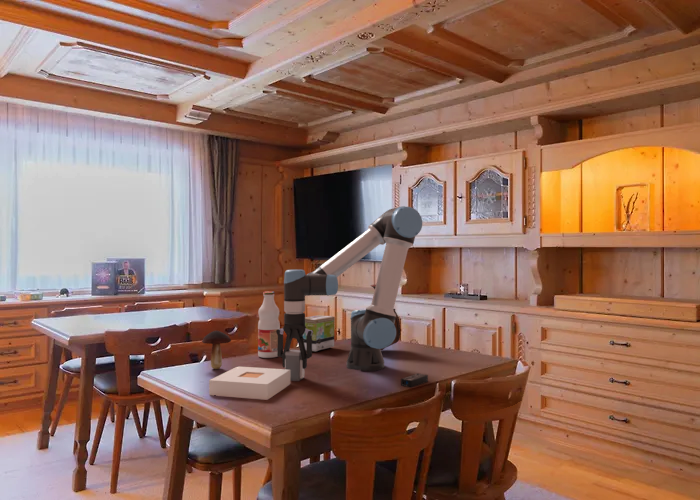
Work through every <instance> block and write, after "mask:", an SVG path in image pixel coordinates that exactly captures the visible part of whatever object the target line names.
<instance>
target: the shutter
mask: <svg viewBox="0 0 700 500" xmlns="http://www.w3.org/2000/svg"><path fill="white" fill-rule="evenodd" d="M261 375H263V374H248V373H247V374H245V375H243V376H241V377H251V378H257V377H259V376H261Z"/></svg>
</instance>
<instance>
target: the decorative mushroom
mask: <svg viewBox="0 0 700 500" xmlns="http://www.w3.org/2000/svg"><path fill="white" fill-rule="evenodd" d="M231 341H232V339H231V338H230V336H229V335H227V334H226V333H225V332H222V331H220V330H213V331H211V332H209V333H207V334H206V335H205V336H204V337H203V339H202V341H201V343H203V344H209V345H212V346H211V352H210V366H211V368H212V369H213V370H219V369H220V368H221V367H222V366H223V357H222V356H223V355H222V354H223V353H222V348H221V344H228V343H231Z"/></svg>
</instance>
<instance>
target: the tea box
mask: <svg viewBox="0 0 700 500" xmlns="http://www.w3.org/2000/svg"><path fill="white" fill-rule="evenodd" d="M335 317H336V316H332V315H322V314H321V315H320V314H318V315H312V316H305V326H306V329H309V330H313V334H312V352H318V351H322V350H326V349H330V348H334V347H335V331H336V330H335V329H336V328H335V326H336V325H335V323H336V321H335V320H336V319H335ZM306 338H307V335H306V332H304V334H303V341H304V345H305V349H306V351H307V343H306Z"/></svg>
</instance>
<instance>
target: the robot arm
mask: <svg viewBox="0 0 700 500" xmlns="http://www.w3.org/2000/svg"><path fill="white" fill-rule="evenodd" d="M422 228H423V218H422V216H421V214H420V212H419V211H418V210H417V209H415V208H414V207H412V206H405V205H403V206H399V207H396V208H394V207H393V208H390V209H387V210H386V211H384V212H383V213H382V214H381V215H380V216H378V218H376V219H375V220H374V221H373V222H371V223H370V224H369V225H368V227H367V230H365V231H364V232H363V233H361V234H360V235H359V236H357V237H356V238H355V239H353V241H351V242H350V243H348V244H347V245H346V246H345V247H343V248H342V249H341V250H340V251H338V252H337V253H335V254H334V255H333V256H332V257H330V258H328V260H326V261H325V262H324V263H322V264H321V265H320V266H319V267H317V268H316V269H315V270H314V271H312V272H311V271H310V272H309V273H307V274H306V271H305V270H304V269H286V270H285V272H284V278H283V279H284V280H283V297H284V299H283V312H285V313H283V315H284V316H283V317H284V318H283V324H284V325H283V327H282V328H280V329H278V330H276V333H277V336H278V351H277V355H278V357H277V358H279V357H280V358H281V359H282V367H283V368H284V369H286V355H285V352H287V351H289V350H291V349H290V348H291V344H292V340H293V339H295V340H296V341H297V344H298V347H299V350H300V353H301V357H302V359H301V360H300V378H303V377H304V378H305V369H307V367H308V359H310V358H312V356H313V351H312V334H313V330H309V329H306V326H305V317H306V313H305V311H306V297H307V296H309V297H310V296H334V295H336V294H338V290H339V279H338V277H339V276H341V275H342V274H343V273H344V272H346V271H348V270H349V269H350V268H351V267H352V266H354V265H355V264H357V262H359V261H360V260H361V259H363V258H364V257H365V256H366V255H368V254H369V253H371V251H373V250H374V249H376V248H377V247H378V246H380V245H383V246H384V245H385V247H384V251H383V255H382V259H381V264H380V268H379V270H378V276H377V280H376V283H375V285H376V287H375V289H374V291H373V295H372V299H371V304H370V305H369V306H367V307H366V308H365V309H359V310H358V309H357V310H352V311H351V313H350V350H349V352H348V357H347V359H346V369H349V370H356V371H361V372H375V371H379V370H380V371H381V370H383V369H384V368H385V359H384V356H383V354H382V350H380V349H383V348H385V349H387V348H388V347H390V346H389V345H391V344H392V342H393V341H394V339H395V337H396V328H395V325H394V323H395V318H396V314H395V313H394V310H393V309H395V304H396V300H397V296H398V293H399V288H400V284H401V281H402V280H401V279H402V275H403V271H404V267H405V263H406V259H407V255H408V251H409V249H410V248H411V247H413V246H414V242H415V239H416V236H418V235H419V234H420V232H421V231H422ZM304 332H306V335H307V338H306V343H307V350H306V349H305V345H304V341H303V334H304ZM284 334H285V335H286V337H285V343H284ZM391 346H392V345H391ZM383 350H384V349H383ZM304 378H303V379H304Z"/></svg>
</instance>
